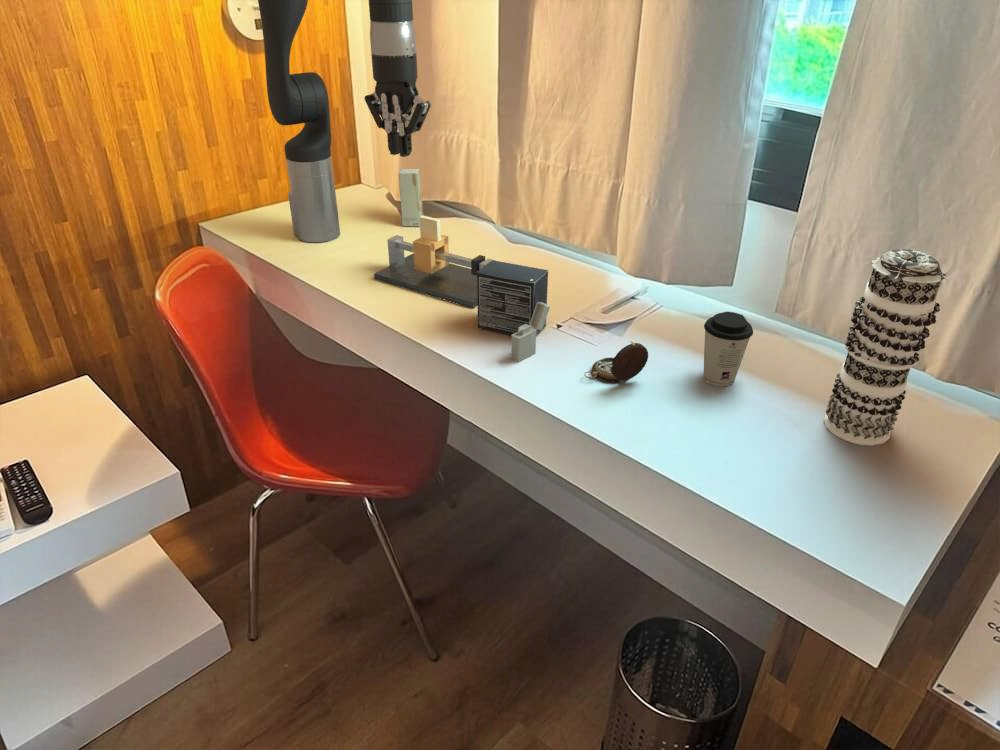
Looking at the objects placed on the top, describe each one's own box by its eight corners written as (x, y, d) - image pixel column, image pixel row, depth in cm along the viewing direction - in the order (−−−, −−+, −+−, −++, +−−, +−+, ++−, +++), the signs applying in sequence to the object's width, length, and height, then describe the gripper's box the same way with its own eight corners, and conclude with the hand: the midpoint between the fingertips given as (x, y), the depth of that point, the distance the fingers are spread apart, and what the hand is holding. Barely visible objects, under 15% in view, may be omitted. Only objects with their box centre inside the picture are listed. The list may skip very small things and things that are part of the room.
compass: (615, 359, 115) (620, 318, 111) (646, 383, 109) (652, 340, 105) (573, 371, 111) (576, 329, 107) (602, 396, 105) (607, 353, 102)
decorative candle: (907, 445, 96) (974, 271, 82) (840, 448, 95) (896, 273, 82) (872, 406, 103) (927, 241, 90) (809, 409, 103) (856, 243, 90)
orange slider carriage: (414, 269, 137) (411, 220, 132) (432, 259, 141) (430, 212, 136) (431, 274, 135) (429, 224, 130) (449, 264, 139) (447, 216, 134)
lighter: (518, 362, 113) (519, 317, 109) (510, 358, 114) (511, 313, 110) (548, 346, 118) (550, 302, 113) (540, 343, 119) (542, 299, 114)
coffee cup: (734, 395, 106) (747, 335, 100) (688, 382, 109) (698, 323, 103) (748, 374, 111) (761, 316, 105) (703, 362, 114) (714, 304, 108)
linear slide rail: (374, 279, 140) (371, 245, 136) (413, 258, 148) (411, 226, 145) (472, 308, 129) (472, 272, 125) (508, 284, 138) (508, 250, 134)
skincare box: (420, 227, 164) (417, 173, 157) (401, 227, 164) (398, 173, 157) (424, 217, 169) (421, 165, 163) (405, 217, 169) (402, 165, 163)
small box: (548, 325, 124) (550, 268, 119) (533, 341, 119) (535, 283, 113) (492, 313, 128) (492, 257, 122) (476, 328, 123) (475, 271, 117)
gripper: (347, 49, 121) (357, 153, 131) (411, 56, 115) (417, 165, 124) (377, 44, 127) (384, 145, 136) (440, 51, 121) (443, 156, 130)
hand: (400, 154), depth 130 cm, fingers closed
